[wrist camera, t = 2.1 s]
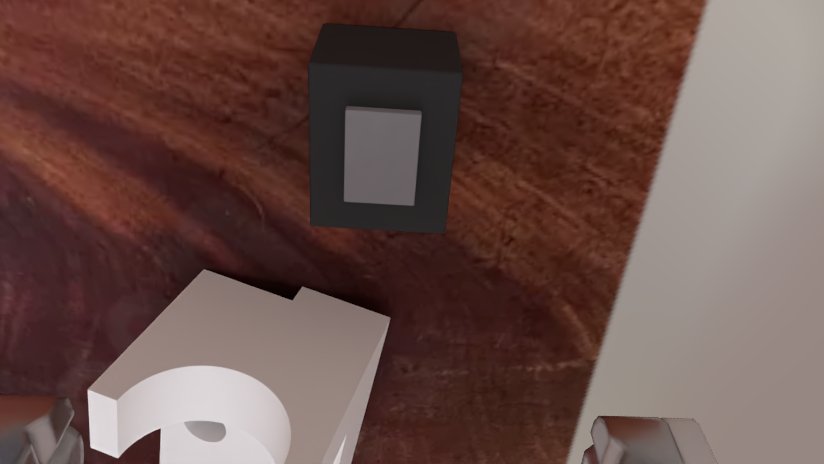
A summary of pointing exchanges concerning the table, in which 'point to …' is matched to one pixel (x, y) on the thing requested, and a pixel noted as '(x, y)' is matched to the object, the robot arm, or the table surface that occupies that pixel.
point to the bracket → (242, 378)
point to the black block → (382, 127)
